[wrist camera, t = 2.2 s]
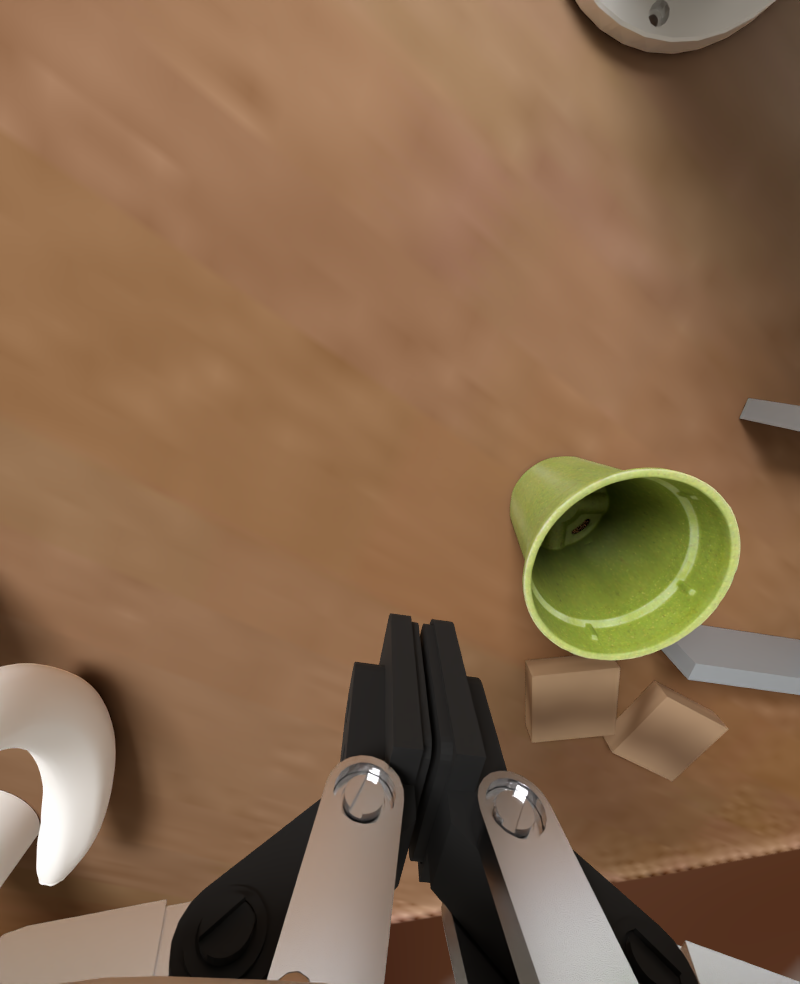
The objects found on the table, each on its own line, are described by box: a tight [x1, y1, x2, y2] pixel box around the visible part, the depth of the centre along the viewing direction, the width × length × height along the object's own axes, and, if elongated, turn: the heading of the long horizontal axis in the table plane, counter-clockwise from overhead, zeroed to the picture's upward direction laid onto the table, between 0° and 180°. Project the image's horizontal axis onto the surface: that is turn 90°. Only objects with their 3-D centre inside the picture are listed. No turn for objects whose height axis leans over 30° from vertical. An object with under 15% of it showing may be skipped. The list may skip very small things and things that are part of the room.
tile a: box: [525, 655, 620, 743], centre depth 31 cm, size 6×6×2 cm
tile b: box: [603, 680, 728, 781], centre depth 32 cm, size 6×6×2 cm
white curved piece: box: [0, 663, 116, 886], centre depth 25 cm, size 5×19×15 cm, turn 0°
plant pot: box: [510, 456, 740, 660], centre depth 23 cm, size 9×9×9 cm
